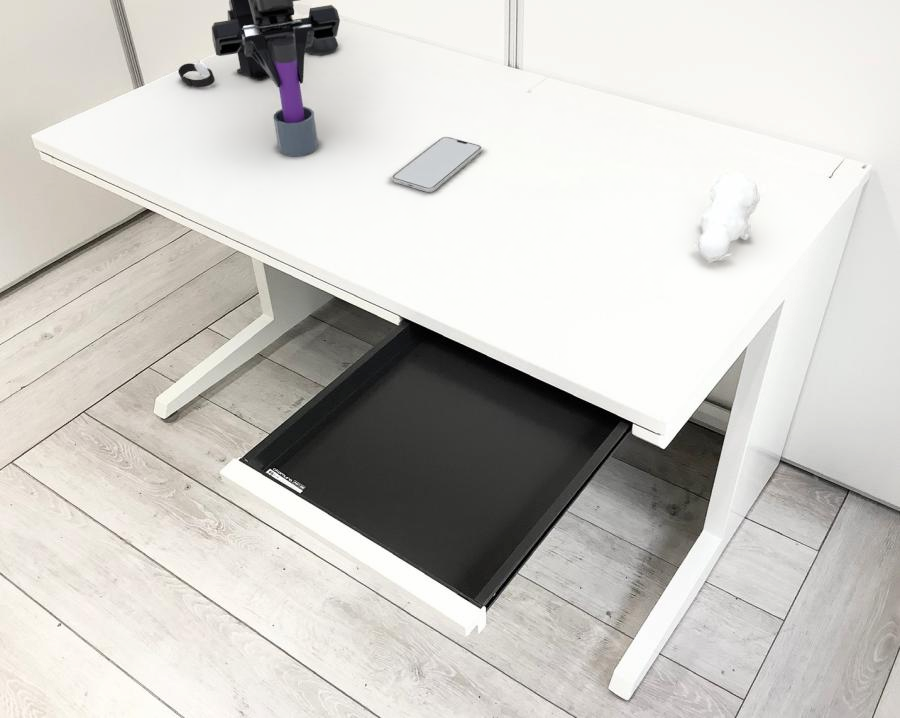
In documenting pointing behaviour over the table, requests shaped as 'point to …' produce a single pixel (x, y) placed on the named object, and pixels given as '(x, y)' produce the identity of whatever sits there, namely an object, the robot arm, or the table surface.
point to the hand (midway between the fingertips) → (290, 84)
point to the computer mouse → (319, 45)
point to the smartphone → (437, 164)
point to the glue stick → (288, 80)
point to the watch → (199, 68)
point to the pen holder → (296, 134)
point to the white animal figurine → (727, 215)
